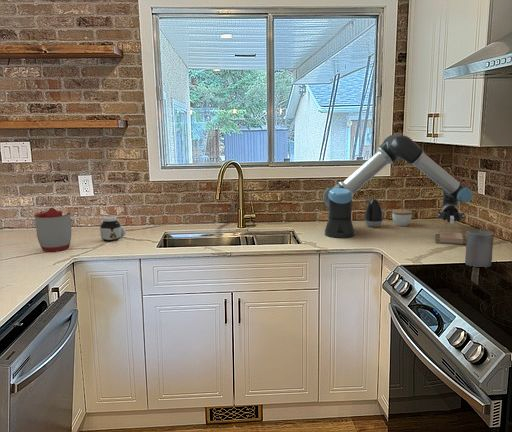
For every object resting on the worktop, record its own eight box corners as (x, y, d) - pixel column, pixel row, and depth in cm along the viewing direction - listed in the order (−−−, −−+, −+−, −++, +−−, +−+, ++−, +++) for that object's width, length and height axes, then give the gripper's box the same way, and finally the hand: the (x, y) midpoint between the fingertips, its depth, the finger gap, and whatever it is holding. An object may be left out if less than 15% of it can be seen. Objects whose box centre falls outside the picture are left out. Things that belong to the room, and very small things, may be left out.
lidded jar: (406, 222, 274) (407, 206, 272) (414, 226, 263) (415, 209, 261) (388, 223, 272) (389, 207, 270) (396, 227, 262) (397, 210, 260)
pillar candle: (473, 259, 198) (476, 224, 196) (496, 265, 191) (499, 228, 188) (459, 264, 193) (462, 228, 190) (482, 270, 185) (485, 232, 182)
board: (435, 234, 243) (435, 233, 243) (465, 236, 238) (465, 235, 238) (435, 243, 226) (435, 241, 226) (467, 245, 222) (467, 244, 222)
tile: (439, 231, 237) (440, 237, 225) (461, 233, 234) (463, 239, 222) (439, 236, 238) (440, 242, 226) (461, 237, 234) (462, 243, 222)
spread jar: (100, 242, 236) (98, 219, 234) (102, 237, 247) (101, 215, 245) (125, 240, 239) (123, 218, 236) (126, 235, 249) (125, 214, 247)
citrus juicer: (83, 246, 229) (80, 205, 225) (52, 255, 214) (47, 211, 210) (62, 242, 236) (58, 203, 233) (30, 250, 222) (26, 208, 218)
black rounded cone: (370, 223, 273) (371, 197, 270) (386, 225, 265) (387, 199, 262) (360, 225, 266) (360, 199, 263) (375, 228, 258) (376, 201, 256)
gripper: (463, 220, 248) (466, 229, 226) (436, 218, 252) (437, 227, 231) (464, 205, 247) (467, 214, 225) (437, 204, 251) (438, 212, 229)
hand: (452, 221), depth 228 cm, fingers closed
